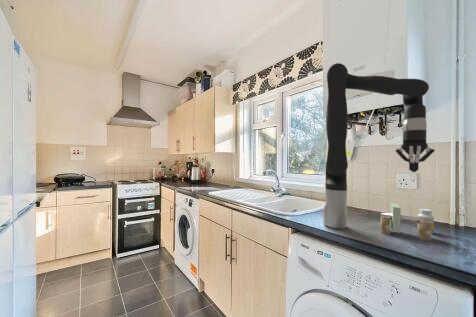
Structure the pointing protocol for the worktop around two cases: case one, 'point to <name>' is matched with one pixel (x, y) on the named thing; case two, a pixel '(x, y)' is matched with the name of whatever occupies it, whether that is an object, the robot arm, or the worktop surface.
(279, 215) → the worktop surface
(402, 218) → the metal pipe
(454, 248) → the worktop surface
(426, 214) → the supplement bottle
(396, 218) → the collar
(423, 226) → the pipe stand
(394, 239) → the worktop surface
